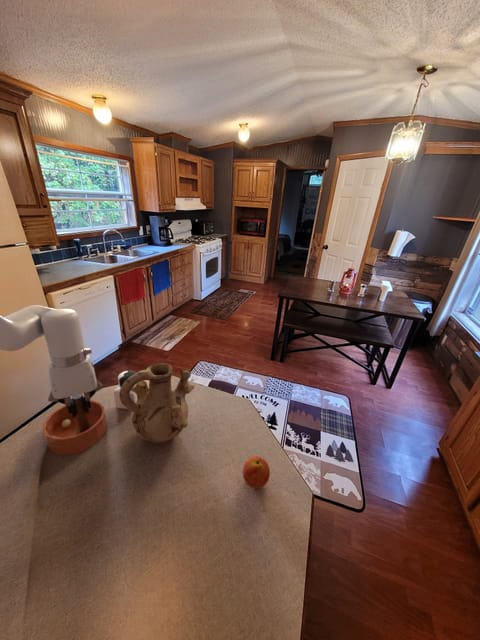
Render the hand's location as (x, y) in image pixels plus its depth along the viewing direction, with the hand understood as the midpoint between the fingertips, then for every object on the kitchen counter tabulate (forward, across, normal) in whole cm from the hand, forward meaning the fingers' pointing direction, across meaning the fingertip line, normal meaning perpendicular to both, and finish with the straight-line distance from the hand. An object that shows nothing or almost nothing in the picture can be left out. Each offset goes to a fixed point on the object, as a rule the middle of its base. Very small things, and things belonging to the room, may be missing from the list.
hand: (80, 411), depth 72 cm
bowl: (+9, +2, -2) cm, 10 cm away
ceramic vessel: (+9, -21, +10) cm, 25 cm away
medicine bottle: (+9, -14, -9) cm, 19 cm away
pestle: (+9, 0, 0) cm, 9 cm away
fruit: (+9, -37, +36) cm, 53 cm away
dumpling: (+8, +5, -6) cm, 11 cm away
